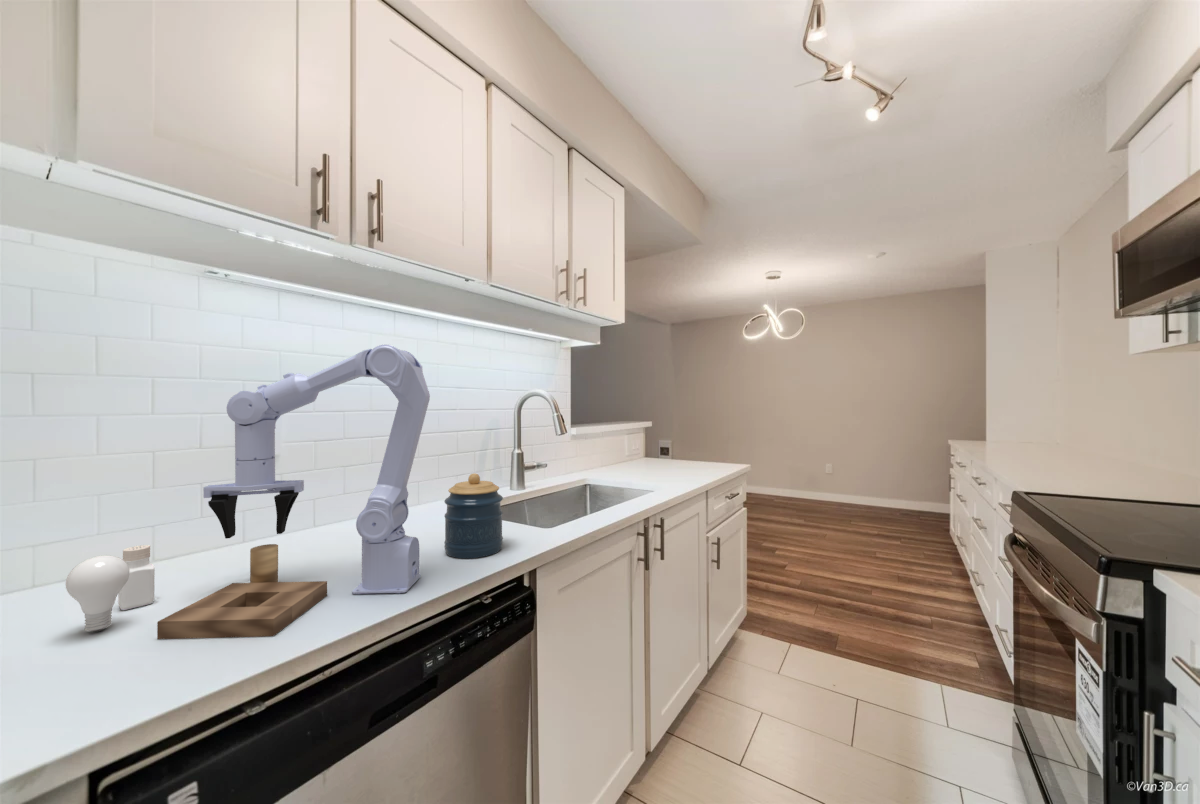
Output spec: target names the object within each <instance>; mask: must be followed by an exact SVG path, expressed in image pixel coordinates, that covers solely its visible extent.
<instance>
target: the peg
mask: <svg viewBox="0 0 1200 804" xmlns="http://www.w3.org/2000/svg"><path fill="white" fill-rule="evenodd" d="M249 552H250V553H249V574H250V575H249V579H250V580H249V583H266V582H279V544H275V543H271V544H270V543H269V544H261V545H257V546H254V547H251V548H250V551H249Z"/></svg>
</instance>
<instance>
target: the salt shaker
mask: <svg viewBox="0 0 1200 804" xmlns="http://www.w3.org/2000/svg"><path fill="white" fill-rule="evenodd" d="M150 558H151V545H148V544H143V545H142V544H141V545H134V546H129V547H126V548H124V549H123V550H122V559H123V560H124V561H125V562H126V563H127V564H128V566H129V570H130V575H129V578H128V581H127V582H126V584H125V585H124V587H123V588H122V589H121V590H120V592H119V593H118V595H117V598H118V599H117V600H118V601H117V602H118V606H119V609H120V610H121V611H127V610H131V609H135V608H139V607H144V606H147V605H151V604H153V603H154V602H155V571H156V570H155V565H154V564H153V563H151V562H150Z"/></svg>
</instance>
